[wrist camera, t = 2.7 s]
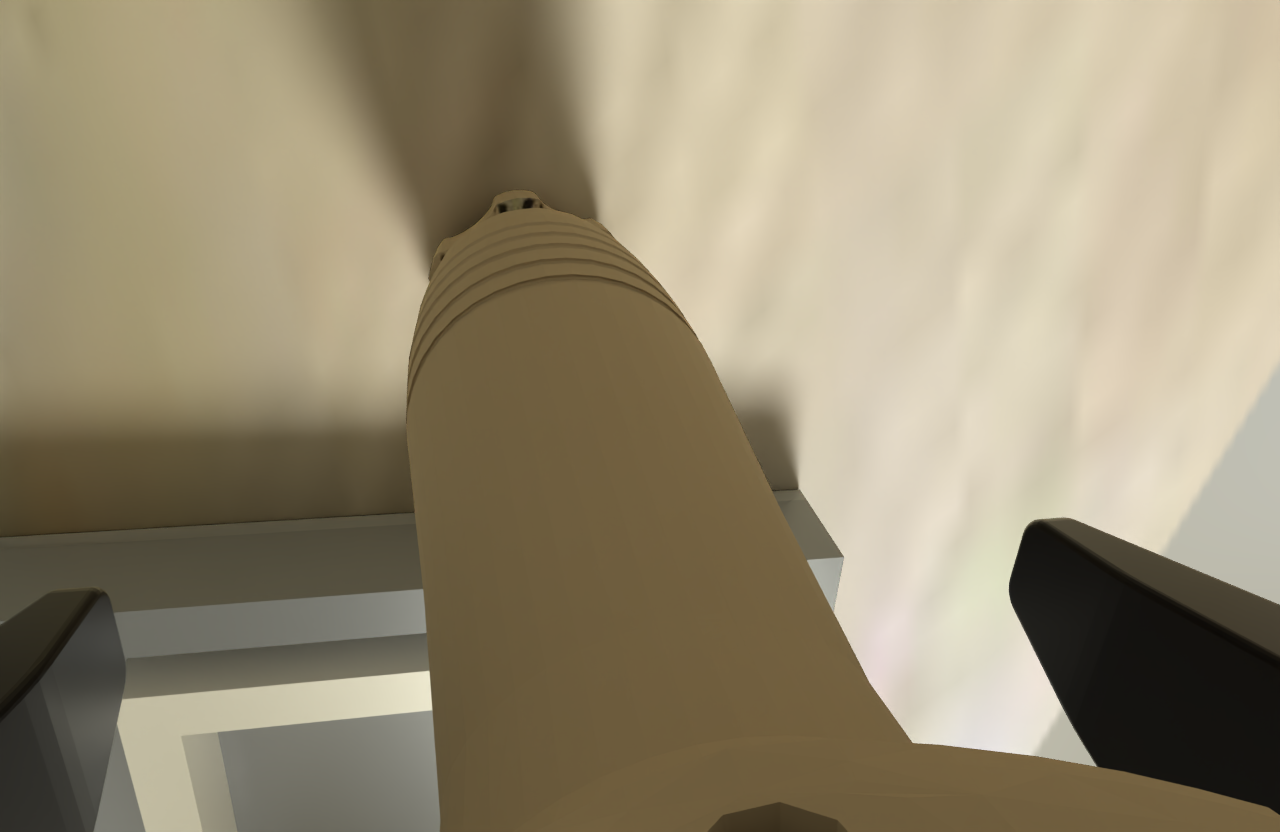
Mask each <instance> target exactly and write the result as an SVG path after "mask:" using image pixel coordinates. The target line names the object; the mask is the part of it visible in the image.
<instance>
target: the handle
mask: <svg viewBox="0 0 1280 832" xmlns="http://www.w3.org/2000/svg"><path fill="white" fill-rule="evenodd" d="M428 279H429V281H430V283H429V285H428V288H427V290H426V293H425V295H424V298H423V301H422V304H421V307H420V311H419V315H418V319H417V324H416V328H415V332H414V337H413V342H412V346H411V351H410V356H409V365H408V385H407V411H406V424H407V429H406V436H407V445H408V454H409V463H410V473H411V482H412V491H413V500H414V510H415V519H416V528H417V537H418V547H419V556H420V565H421V574H422V584H423V593H424V604H425V618H426V631H427V645H428V658H429V672H430V686H431V699H432V713H433V726H434V740H435V754H436V767H437V781H438V795H439V808H440V832H1280V815H1279V814H1277V813H1276V812H1274V811H1273V810H1271V809H1270V808H1268V807H1265V806H1261V805H1257V804H1253V803H1250V802H1246V801H1242V800H1238V799H1235V798H1231V797H1227V796H1223V795H1220V794H1216V793H1212V792H1208V791H1205V790H1201V789H1197V788H1193V787H1188V786H1184V785H1180V784H1175V783H1171V782H1167V781H1162V780H1158V779H1154V778H1149V777H1145V776H1141V775H1136V774H1132V773H1128V772H1123V771H1118V770H1112V769H1106V768H1100V767H1095V766H1089V765H1083V764H1078V763H1071V762H1066V761H1060V760H1055V759H1049V758H1043V757H1037V756H1029V755H1021V754H1012V753H1004V752H995V751H987V750H978V749H970V748H961V747H953V746H944V745H933V744H917V743H912V741H911V740H910V739H909V737H908V736H907V734H906V733H905V732H904V730H903V729H902V728H901V726H900V725H899V723H898V722H897V721H896V719H895V718H894V716H893V715H892V714H891V712H890V711H889V709H888V708H887V707H886V705H885V704H884V702H883V701H882V700H881V698H880V697H879V696H878V694H877V693H876V691H875V690H874V689H873V687H872V686H871V684H870V683H869V681H868V679H867V677H866V675H865V673H864V671H863V669H862V667H861V665H860V663H859V661H858V659H857V657H856V655H855V654H854V652H853V650H852V648H851V646H850V644H849V642H848V640H847V638H846V636H845V634H844V632H843V630H842V628H841V626H840V624H839V622H838V620H837V618H836V616H835V614H834V613H833V611H832V609H831V607H830V605H829V603H828V601H827V599H826V597H825V595H824V593H823V591H822V589H821V587H820V585H819V583H818V581H817V579H816V577H815V575H814V573H813V571H812V570H811V568H810V566H809V564H808V562H807V560H806V558H805V556H804V554H803V552H802V550H801V548H800V546H799V544H798V542H797V540H796V538H795V536H794V534H793V532H792V530H791V528H790V527H789V525H788V523H787V521H786V519H785V517H784V515H783V513H782V511H781V509H780V507H779V505H778V503H777V501H776V498H775V496H774V494H773V492H772V490H771V488H770V486H769V484H768V481H767V479H766V477H765V475H764V473H763V471H762V469H761V467H760V464H759V462H758V460H757V458H756V456H755V454H754V452H753V450H752V447H751V445H750V443H749V441H748V439H747V437H746V435H745V433H744V430H743V428H742V426H741V424H740V422H739V420H738V418H737V416H736V414H735V411H734V409H733V407H732V405H731V403H730V401H729V399H728V397H727V394H726V392H725V390H724V388H723V386H722V384H721V382H720V380H719V377H718V375H717V373H716V371H715V369H714V367H713V365H712V363H711V361H710V359H709V357H708V355H707V353H706V351H705V349H704V348H703V346H702V344H701V342H700V341H699V340H698V338H697V336H696V334H695V333H694V331H693V329H692V328H691V326H690V325H689V323H688V322H687V320H686V319H685V317H684V315H683V314H682V312H681V311H680V309H679V308H678V306H677V305H676V304H675V302H674V301H673V300H672V298H671V297H670V296H669V294H668V293H667V292H666V291H665V289H664V288H663V287H662V286H661V284H660V283H659V282H658V281H657V280H656V279H655V277H654V276H653V275H652V274H651V273H650V272H649V271H648V270H647V269H646V268H645V266H644V265H643V264H642V263H641V262H640V261H639V260H638V259H637V258H636V257H635V256H634V255H633V254H631V253H630V252H629V251H628V250H627V249H626V248H625V247H624V246H622V245H621V244H620V243H619V242H618V241H616V239H615V238H614V237H613V236H612V234H611V233H610V232H609V231H608V230H607V229H606V228H605V227H604V226H603V225H602V224H601V223H599V222H597V221H595V220H593V219H591V218H589V219H581V218H579V217H577V216H575V215H573V214H570V213H566V212H562V211H557V210H554V209H552V208H550V207H548V206H547V205H546V204H544V203H543V202H542V201H541V200H540V199H539V197H538V196H537V195H536V194H535V193H534V192H532V191H527V190H511V191H507V192H503V193H501V194H499V195H497V196H495V197H494V199H493V203H492V206H491V207H490V209H489V210H488V211H487V213H486V214H485V215H484V216H483V217H482V218H481V219H480V220H479V221H478V222H477V223H476V224H475V225H473V226H472V227H470V228H469V229H467V230H466V231H464V232H463V233H461V234H458V235H456V236H454V237H452V238H445V239H444V240H442V242H441V243H440V245H439V246H438V248H437V251H436V253H435V255H434V258H433V262H432V265H431V269H430V274H429V278H428Z"/></svg>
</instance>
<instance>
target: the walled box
mask: <svg viewBox="0 0 1280 832" xmlns="http://www.w3.org/2000/svg"><path fill="white" fill-rule="evenodd" d="M772 492H773V494H774V496H775V498H776V501H777V503H778V505H779V507H780V509H781V511H782V513H783V515H784V517H785V519H786V521H787V523H788V525H789V527H790V528H791V530H792V532H793V534H794V536H795V538H796V540H797V542H798V544H799V546H800V548H801V550H802V552H803V554H804V556H805V558H806V560H807V562H808V564H809V566H810V568H811V570H812V571H813V573H814V575H815V577H816V579H817V581H818V583H819V585H820V587H821V589H822V591H823V593H824V595H825V597H826V599H827V601H828V603H829V605H830V607H831V609H832V611H833V612H834V607H835V602H836V596H837V591H838V586H839V581H840V576H841V570H842V565H843V560H844V556H843V555H842V553H841V552H840V550H839V549H838V547H837V546H836V544H835V543H834V541H833V540H832V538H831V536H830V535H829V533H828V532H827V530H826V529H825V527H824V526H823V524H822V523H821V521H820V520H819V518H818V517H817V515H816V514H815V512H814V511H813V509H812V508H811V506H810V504H809V503H808V501H807V500H806V498H805V497H804V495H803V494H802V492H801V491H800V490H786V491H772ZM82 587H100V588H101V589H103V590H105V591H106V593H107V594H108V596H109V598H110V601H111V604H112V608H113V612H114V616H115V620H116V624H117V628H118V632H119V636H120V640H121V644H122V648H123V652H124V656H125V662H126V682H125V688H124V693H123V698H122V703H121V707H120V712H119V717H118V721H117V726H116V731H115V736H114V740H113V745H112V750H111V754H110V759H109V764H108V769H107V773H106V778H105V783H104V787H103V792H102V797H101V802H100V806H99V811H98V816H97V820H96V825H95V829H94V832H440V808H439V795H438V781H437V767H436V754H435V740H434V726H433V713H432V699H431V686H430V672H429V658H428V645H427V631H426V618H425V604H424V593H423V584H422V574H421V565H420V556H419V547H418V537H417V528H416V519H415V513H401V514H384V515H367V516H351V517H334V518H317V519H300V520H284V521H267V522H250V523H234V524H217V525H200V526H183V527H167V528H150V529H133V530H117V531H100V532H83V533H66V534H50V535H33V536H16V537H0V624H2V623H3V622H5V621H6V620H8V619H9V618H10V617H12V616H13V615H15V614H16V613H18V612H19V611H21V610H22V609H24V608H25V607H26V606H28V605H29V604H31V603H32V602H34V601H35V600H37V599H38V598H40V597H41V596H42V595H44V594H46V593H47V592H49V591H52V590H56V589H68V588H82Z"/></svg>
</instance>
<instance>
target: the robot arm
mask: <svg viewBox="0 0 1280 832" xmlns="http://www.w3.org/2000/svg"><path fill="white" fill-rule="evenodd" d="M1009 595H1010V600H1011V604H1012V606H1013V608H1014V610H1015V612H1016V615H1017V617H1018V619H1019V621H1020V623H1021V625H1022V627H1023V629H1024V631H1025V633H1026V635H1027V637H1028V639H1029V641H1030V643H1031V645H1032V647H1033V649H1034V651H1035V653H1036V655H1037V657H1038V659H1039V661H1040V663H1041V665H1042V667H1043V669H1044V671H1045V673H1046V675H1047V677H1048V679H1049V681H1050V683H1051V685H1052V687H1053V689H1054V691H1055V693H1056V695H1057V697H1058V699H1059V701H1060V703H1061V705H1062V707H1063V709H1064V711H1065V713H1066V715H1067V716H1068V719H1069V720H1070V722H1071V724H1072V726H1073V728H1074V730H1075V731H1076V733H1077V735H1078V736H1079V738H1080V740H1081V741H1082V743H1083V745H1084V746H1085V748H1086V750H1087V751H1088V753H1089V754H1090V756H1091V758H1092V759H1093V761H1094V763H1095V764H1096V766H1097V767H1100V768H1106V769H1112V770H1118V771H1123V772H1128V773H1132V774H1136V775H1141V776H1145V777H1149V778H1154V779H1158V780H1162V781H1167V782H1171V783H1175V784H1180V785H1184V786H1188V787H1193V788H1197V789H1201V790H1205V791H1208V792H1212V793H1216V794H1220V795H1223V796H1227V797H1231V798H1235V799H1238V800H1242V801H1246V802H1250V803H1253V804H1257V805H1261V806H1265V807H1268V808H1270V809H1271V810H1273V811H1274V812H1276V813H1277V814H1279V815H1280V605H1279V604H1276V603H1274V602H1272V601H1269V600H1267V599H1264V598H1262V597H1260V596H1257V595H1255V594H1252V593H1250V592H1247V591H1245V590H1243V589H1240V588H1238V587H1236V586H1233V585H1231V584H1228V583H1226V582H1223V581H1221V580H1219V579H1216V578H1214V577H1211V576H1209V575H1207V574H1204V573H1202V572H1199V571H1196V570H1195V569H1192V568H1189V567H1187V566H1185V565H1182V564H1180V563H1178V562H1175V561H1173V560H1170V559H1168V558H1166V557H1163V556H1161V555H1158V554H1156V553H1154V552H1151V551H1149V550H1146V549H1144V548H1141V547H1139V546H1137V545H1134V544H1132V543H1129V542H1127V541H1125V540H1122V539H1120V538H1117V537H1115V536H1113V535H1110V534H1108V533H1105V532H1103V531H1100V530H1098V529H1096V528H1093V527H1091V526H1088V525H1086V524H1084V523H1081V522H1079V521H1076V520H1074V519H1071V518H1051V519H1037V520H1034V521H1032V522H1031V523H1029V524H1028V526H1027V527H1026V528H1025V530H1024V533H1023V536H1022V540H1021V543H1020V546H1019V550H1018V553H1017V557H1016V560H1015V564H1014V567H1013V570H1012V574H1011V577H1010V582H1009ZM125 682H126V662H125V656H124V652H123V648H122V644H121V640H120V636H119V632H118V628H117V624H116V620H115V616H114V612H113V608H112V604H111V601H110V598H109V596H108V594H107V593H106V591H105V590H103V589H101V588H100V587H82V588H68V589H56V590H52V591H49V592H47V593H46V594H44V595H42V596H41V597H40V598H38V599H37V600H35V601H34V602H32V603H31V604H29V605H28V606H26V607H25V608H24V609H22V610H21V611H19V612H18V613H16V614H15V615H13V616H12V617H10V618H9V619H8V620H6V621H5V622H3V623H2V624H0V832H94V829H95V825H96V820H97V816H98V811H99V806H100V802H101V797H102V792H103V787H104V783H105V778H106V773H107V769H108V764H109V759H110V754H111V750H112V745H113V740H114V736H115V731H116V726H117V721H118V717H119V712H120V707H121V703H122V698H123V693H124V688H125Z"/></svg>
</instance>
